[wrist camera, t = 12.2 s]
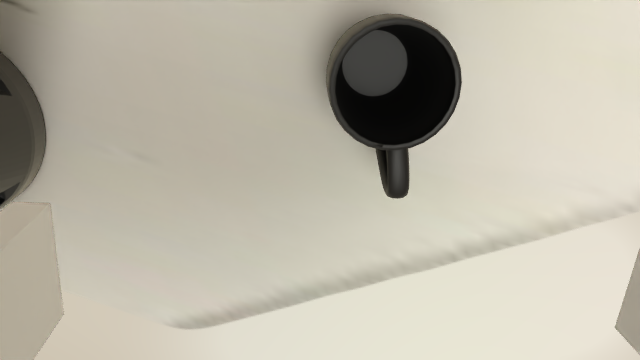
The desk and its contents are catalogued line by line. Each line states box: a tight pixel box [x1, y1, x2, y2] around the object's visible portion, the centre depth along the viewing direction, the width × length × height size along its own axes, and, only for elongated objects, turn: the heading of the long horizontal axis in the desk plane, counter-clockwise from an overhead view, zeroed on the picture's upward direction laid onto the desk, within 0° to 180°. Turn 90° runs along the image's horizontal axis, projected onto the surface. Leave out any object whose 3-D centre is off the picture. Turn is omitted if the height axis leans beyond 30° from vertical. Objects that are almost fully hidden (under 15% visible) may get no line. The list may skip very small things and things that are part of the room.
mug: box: [326, 14, 462, 198], centre depth 38 cm, size 8×12×10 cm
